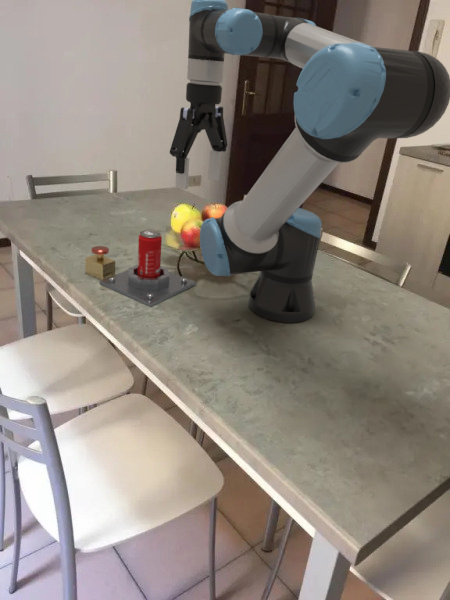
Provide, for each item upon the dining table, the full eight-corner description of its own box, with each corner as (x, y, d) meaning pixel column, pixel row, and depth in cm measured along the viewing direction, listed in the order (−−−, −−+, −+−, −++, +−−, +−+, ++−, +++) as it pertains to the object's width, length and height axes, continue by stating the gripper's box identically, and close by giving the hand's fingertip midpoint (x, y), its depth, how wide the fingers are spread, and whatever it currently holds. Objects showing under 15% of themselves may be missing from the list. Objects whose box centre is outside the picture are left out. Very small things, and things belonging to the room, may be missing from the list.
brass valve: (115, 275, 126) (115, 250, 123) (102, 280, 123) (102, 254, 120) (98, 268, 129) (97, 243, 126) (85, 273, 126) (84, 247, 123)
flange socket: (195, 285, 126) (196, 272, 124) (150, 306, 114) (151, 293, 112) (146, 265, 133) (146, 253, 132) (99, 283, 121) (99, 270, 120)
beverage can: (148, 288, 120) (150, 239, 115) (132, 280, 123) (134, 232, 117) (164, 282, 124) (166, 234, 118) (148, 275, 126) (150, 228, 121)
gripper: (219, 81, 121) (212, 173, 130) (154, 80, 101) (151, 188, 110) (247, 84, 118) (238, 178, 127) (186, 84, 98) (181, 195, 107)
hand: (198, 183), depth 119 cm, fingers open, 13 cm apart
